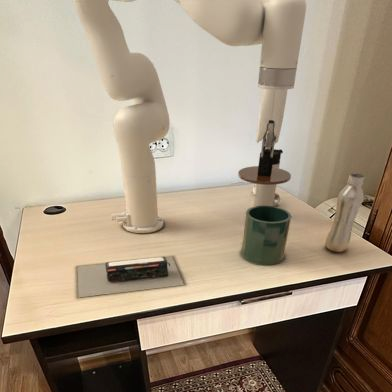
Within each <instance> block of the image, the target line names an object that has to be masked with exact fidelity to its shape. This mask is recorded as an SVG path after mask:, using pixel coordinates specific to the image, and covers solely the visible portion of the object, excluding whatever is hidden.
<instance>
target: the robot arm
mask: <svg viewBox="0 0 392 392" xmlns="http://www.w3.org/2000/svg"><path fill="white" fill-rule="evenodd" d="M109 1H110V0H72V3H73V5H74V8H75V11H76V13H77V16H78V18H79V21H80V23H81V25H82V27H83V29H84V32H85V35H86V37H87V40H88V42H89V46H90V48H91V52H92V55H93V57H94V60H95V63H96V64H95V65H96V66H97V69H98V72H99V76H100V78H101V81H102V83H103V86H104V89H105V91H106V93H107V95H108V96H109V97H110V99H112V100H113V101H116V102H117V101H118V102H123V101H130V100H133V102H134V104H132V105H128V106H125V107H122V108H121V109H120V110H119V111H118V112H117V113H116V115H115V117H114V119H113V123H112V125H113V126H112V127H113V133H114V137H115V141H116V145H117V148H118V153H119V159H120V166H121V174H122V182H123V183H122V184H123V191H124V192H123V193H124V201H125V208H124V211H122V212H119V213H118V212H113V213H112V212H111V218H112V221H116V222H117V223H122V227H123V228H124V230H126V231H128V232H130V233H133V234H134V233H135V234H149V233H153V232H154V233H155V232H157V231H159V230H160V229H162V228H163V226H164V220H163V219H162V217H160V216H159V212H158V211H159V210H158V209H159V208H158V192H157V171H156V161H155V157H154V155H153V152H152V150H151V146H150V145H151V144H154V143H156V142H158V141H160V140H163V139H164V138H165V137H166V136H167V135H168V133H169V130H170V125H171V122H170V121H171V120H170V114H169V110H168V107H167V103H166V99H165V96H164V93H163V89H162V88H163V87H162V85H161V81H160V78H159V75H158V72H157V69H156V67H155V65H154V63H153V62H152V60H151V59H150V58H149V57H148V55H147V56H146V55H145V54H143V53H141V52H131V51H130V48H129V46H128V44H127V41H126V37H125V34H124V33H125V32H124V31H123V27H122V25H121V22H120V21H119V19H118V17H117V16H116V15H115V13H114V11H113V9H112V8H111V6H110V4H109ZM111 1H113V2H124V3H131V2H132V3H133V2H136V1H137V0H111ZM174 1H175V2H176V3H177V4H179V6H180V7H182V10H183V11H184V12H185V13H186V14H187V16H188V17H189V18H190V19H191V21H193V22H194V23H195V24H196V25H197V26H199V28H201V29H203V30H204V31H205V32H207V34H210V35H211V36H212V37H214V39H216V40H218V41H220V42H221V43H223V44H225V45H227V46H230V47H241V46H244V47H246V46H247V47H249V46H257V45H261V50H260V60H259V71H258V79H257V88H259V89H261V95H260V101H259V109H258V118H257V128H256V137H255V138H256V139H255V142H256V143H257V144H259V142H261V149H260V150H261V151H260V153H259V157H258V158H259V159H258V165H257V166H258V176H271V173H272V166H273V158H274V157H273V156H274V154H273V151H274V149H275V145H276V144H277V143H278V142H279V139H280V134H281V131H282V126H283V122H284V121H283V120H284V115H285V110H286V109H285V108H286V104H287V96H288V90H293V89H295V83H296V76H297V69H298V63H299V57H300V50H301V44H302V38H303V32H304V27H305V26H304V25H305V20H306V19H305V18H306V12H307V1H306V0H174ZM263 152H264V153H263Z"/></svg>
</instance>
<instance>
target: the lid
mask: <svg viewBox="0 0 392 392" xmlns="http://www.w3.org/2000/svg"><path fill="white" fill-rule="evenodd" d="M263 153H264V152H263ZM258 166H259V165H255V166H253V165H252V166H246V167H243V168H241V169H239V171H238V172H237V176H238V178H239V179H240V180H242V181H244V182H248V183H250V184H255V185H256V184H262V185H274V184H276V185H282V184H285V183H287V182H290V180H291V177H292V174H291V173H290V172H289V171H287V170H285V169H283V168H280V167H279V168H275V167H272V173H271V176H258Z"/></svg>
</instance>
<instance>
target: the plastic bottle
mask: <svg viewBox="0 0 392 392" xmlns="http://www.w3.org/2000/svg"><path fill="white" fill-rule="evenodd" d="M364 180H365V175H363V174H362V173H350V174H349V177H348V180H347V181H346V183H347V185H345V186H344V188H342V190H340V192H339V193H338V195H337V200H336V207H335V213H334V217H333V222H332V224H331V227H330V229H329V232H328V233H327V236H326V239H325V246H326V248H327V250H330V251H331V252H336V253H341V252H345V251H346V250H347V249H348V247H349V245H350V243H351V237H352V236H351V235H352V230H353V226H354V223H355V220H356V217H357V214H358V213H359V211H360V208H361V207H362V204H363V201H364V191H363V188H362V186H363V184H364Z"/></svg>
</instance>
